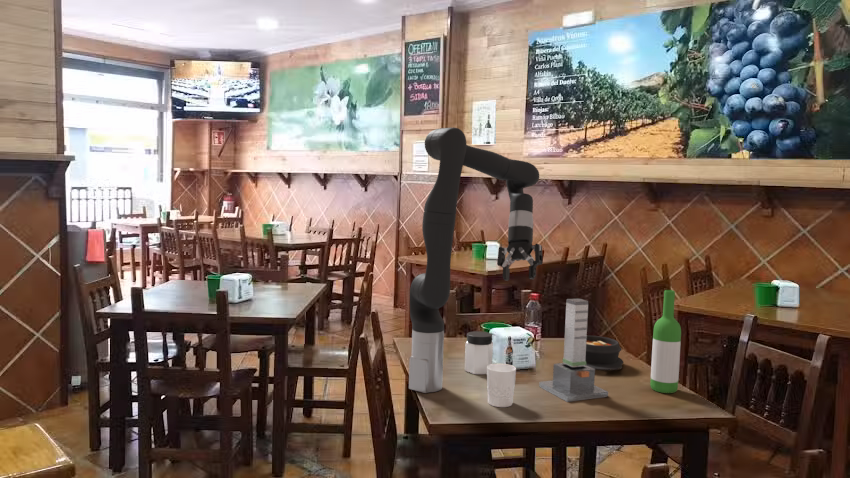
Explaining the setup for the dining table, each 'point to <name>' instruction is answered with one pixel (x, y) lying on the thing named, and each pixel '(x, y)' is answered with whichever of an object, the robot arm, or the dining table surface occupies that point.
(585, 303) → the column
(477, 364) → the jar
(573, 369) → the stand base
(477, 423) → the dining table surface
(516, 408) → the dining table surface
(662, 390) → the wine bottle
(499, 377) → the white cup
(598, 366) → the casserole
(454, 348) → the dining table surface
